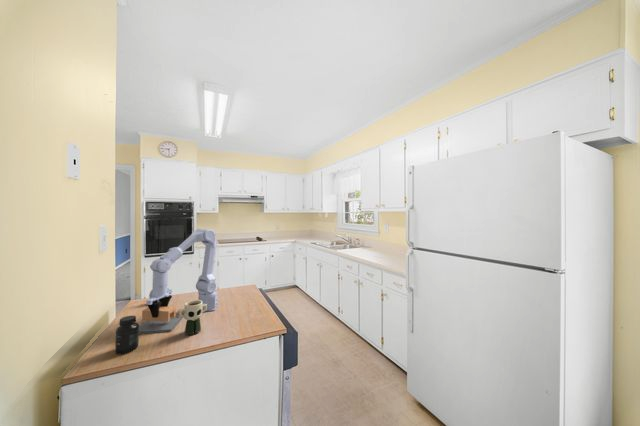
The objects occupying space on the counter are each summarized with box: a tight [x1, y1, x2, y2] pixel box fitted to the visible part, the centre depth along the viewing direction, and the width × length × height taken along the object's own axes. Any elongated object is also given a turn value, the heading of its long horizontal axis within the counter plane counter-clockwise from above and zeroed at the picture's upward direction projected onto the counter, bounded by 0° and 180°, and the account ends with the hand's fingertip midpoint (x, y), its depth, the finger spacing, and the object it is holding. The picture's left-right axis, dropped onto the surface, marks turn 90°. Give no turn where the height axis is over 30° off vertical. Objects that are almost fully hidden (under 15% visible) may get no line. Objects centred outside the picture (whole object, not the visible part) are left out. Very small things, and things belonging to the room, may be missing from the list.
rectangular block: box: [141, 306, 177, 322], centre depth 106 cm, size 12×5×4 cm, turn 90°
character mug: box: [178, 299, 207, 335], centre depth 102 cm, size 11×7×13 cm, turn 132°
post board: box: [139, 316, 183, 335], centre depth 106 cm, size 15×12×4 cm
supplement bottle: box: [114, 315, 140, 355], centre depth 88 cm, size 7×7×12 cm
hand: (159, 314), depth 106 cm, fingers closed on rectangular block, 5 cm apart
